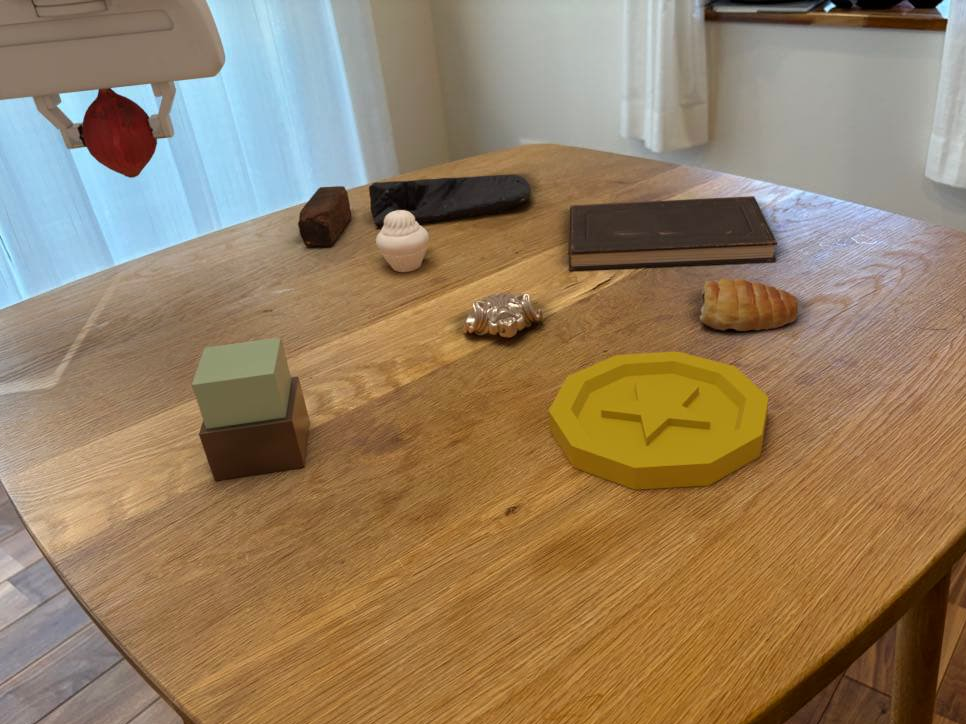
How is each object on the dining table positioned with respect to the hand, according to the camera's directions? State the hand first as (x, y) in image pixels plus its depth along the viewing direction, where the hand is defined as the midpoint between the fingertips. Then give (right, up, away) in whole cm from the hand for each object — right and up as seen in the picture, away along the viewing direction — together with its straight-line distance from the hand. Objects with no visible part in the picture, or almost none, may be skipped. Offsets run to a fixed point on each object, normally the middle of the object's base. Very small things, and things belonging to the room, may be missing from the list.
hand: (122, 141), depth 74 cm
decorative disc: (+46, -25, -4) cm, 52 cm away
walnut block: (+14, -27, -4) cm, 30 cm away
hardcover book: (+51, -3, +29) cm, 59 cm away
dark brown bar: (+8, 0, +39) cm, 40 cm away
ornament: (+33, -16, +11) cm, 38 cm away
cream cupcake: (+21, -7, +27) cm, 35 cm away
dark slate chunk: (+24, +5, +45) cm, 51 cm away
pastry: (+56, -14, +10) cm, 59 cm away
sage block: (+13, -23, -6) cm, 27 cm away
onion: (0, -3, +2) cm, 3 cm away
